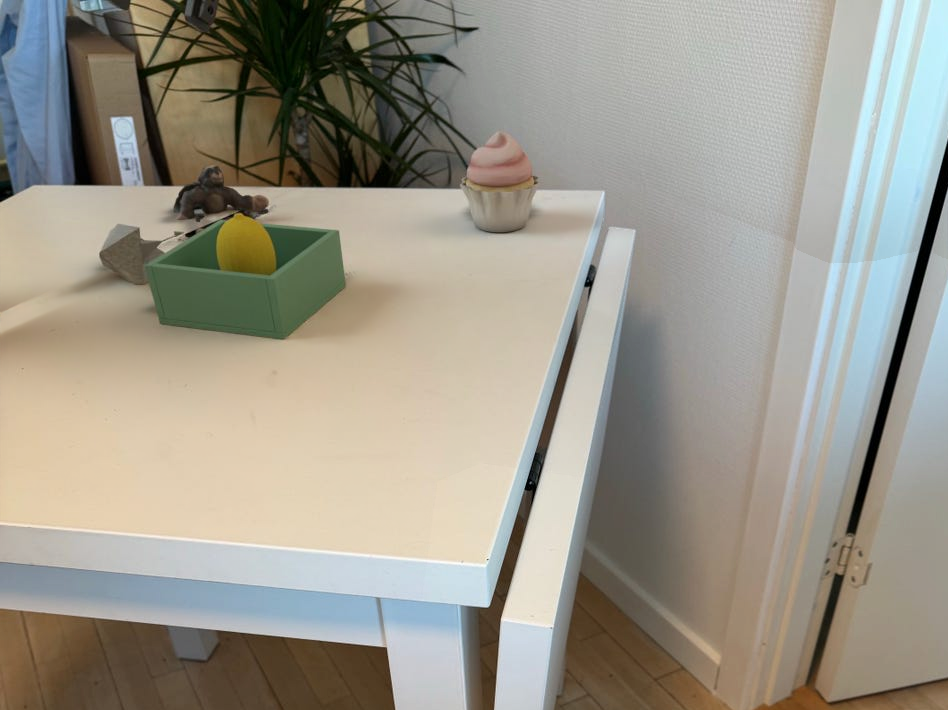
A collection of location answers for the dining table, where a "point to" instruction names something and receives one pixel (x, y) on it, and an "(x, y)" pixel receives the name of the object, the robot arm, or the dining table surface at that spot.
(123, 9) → the robot arm
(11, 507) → the dining table surface
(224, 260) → the lemon
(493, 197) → the cupcake
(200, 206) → the stuffed animal
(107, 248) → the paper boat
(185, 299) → the bin
